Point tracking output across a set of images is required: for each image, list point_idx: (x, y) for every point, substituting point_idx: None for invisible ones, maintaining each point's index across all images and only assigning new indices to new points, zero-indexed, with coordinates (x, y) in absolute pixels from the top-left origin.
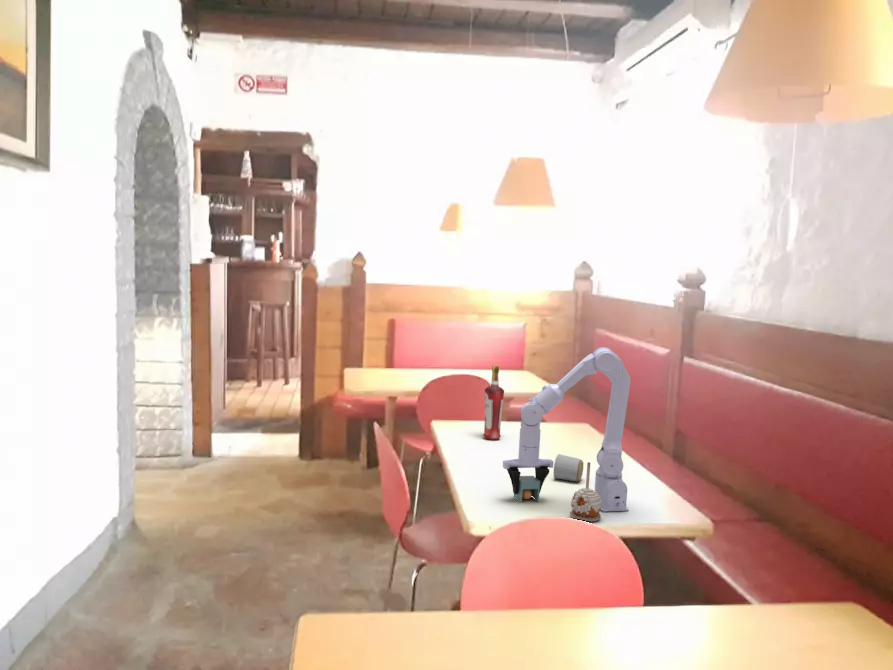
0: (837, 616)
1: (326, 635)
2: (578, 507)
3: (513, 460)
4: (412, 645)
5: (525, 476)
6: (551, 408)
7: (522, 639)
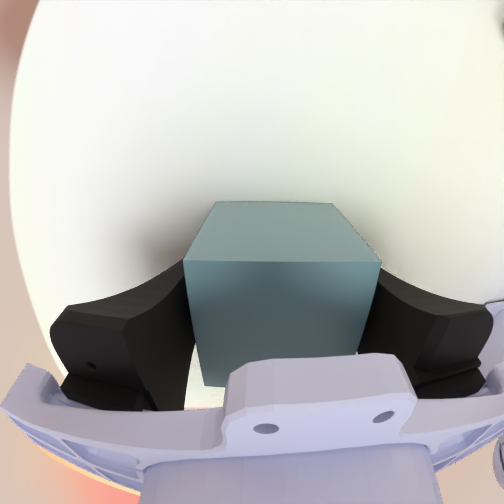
0: None
1: (47, 452)
2: None
3: (82, 435)
4: (88, 474)
5: (294, 282)
6: None
7: None
